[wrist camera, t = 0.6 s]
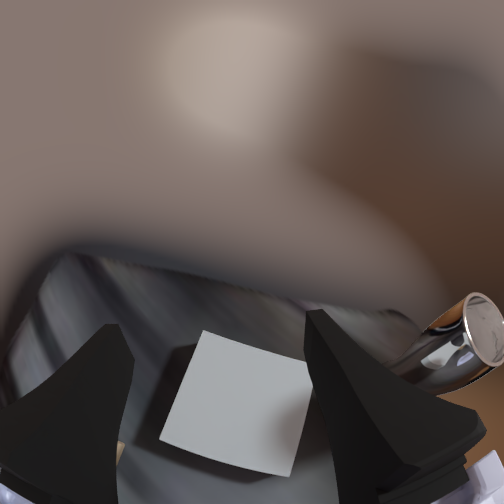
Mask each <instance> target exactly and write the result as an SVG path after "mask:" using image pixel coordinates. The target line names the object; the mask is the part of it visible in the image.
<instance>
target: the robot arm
mask: <svg viewBox="0 0 504 504" xmlns="http://www.w3.org/2000/svg"><path fill="white" fill-rule="evenodd" d="M304 354H305V359H306V364H307V368H308V373H309V376H310V379H311V382H312V384H313V387H314V390H315V393H316V396H317V399H318V402H319V405H320V408H321V411H322V413H323V416H324V419H325V423H326V426H327V431H328V435H329V440H330V445H331V450H332V456H333V461H334V467H335V473H336V480H337V487H338V496H339V504H504V468H503V466H502V464H501V461H500V460H499V457H498V455H497V453H496V451H495V450H493V451H491V452H490V453H489V454H488V455H486V456H485V457H484V458H482V459H481V460H479V461H478V462H476V463H475V464H473V465H472V466H471V467H469V468H468V469H466V470H465V468H464V466H463V465H464V464H465V463H466V462H467V460H466V458H465V456H464V454H465V453H466V452H467V451H469V450H470V449H471V448H472V447H473V446H475V444H477V443H478V442H479V441H480V440H481V439H482V438H483V437H484V436H485V434H486V431H487V430H486V428H485V426H484V424H483V422H482V421H481V419H480V417H479V415H478V414H477V412H476V411H475V410H472V409H469V408H466V407H463V406H460V405H457V404H454V403H451V402H448V401H446V400H443V399H441V398H439V397H436V396H434V395H432V394H430V393H428V392H426V391H424V390H422V389H420V388H418V387H416V386H415V385H413V384H411V383H409V382H407V381H406V380H404V379H402V378H401V377H399V376H398V375H396V374H395V373H393V372H392V371H390V370H389V369H387V368H386V367H385V366H383V365H382V364H381V363H379V362H378V361H377V360H376V359H375V358H373V357H372V356H371V355H370V354H368V353H367V352H366V351H365V350H364V349H363V348H362V347H360V346H359V345H358V344H357V343H356V342H355V341H354V340H353V339H352V338H351V337H350V336H349V335H348V334H347V333H346V332H345V331H344V330H343V329H342V328H341V327H340V326H339V325H338V324H337V323H336V322H335V321H334V320H333V319H332V318H331V317H330V316H329V315H328V314H327V313H326V312H325V311H324V310H323V309H318V310H311V311H306V323H305V337H304ZM134 361H135V359H134V357H133V355H132V353H131V351H130V349H129V347H128V345H127V342H126V340H125V338H124V336H123V334H122V331H121V329H120V327H119V325H118V324H105V325H104V326H103V327H101V328H100V329H99V330H98V331H97V332H96V333H95V334H94V335H93V336H92V337H91V338H90V339H89V340H88V341H87V342H86V343H85V344H84V345H83V346H82V347H81V348H80V349H79V350H78V351H77V352H76V353H75V354H74V355H73V356H72V357H71V358H70V359H69V360H68V361H67V362H65V363H64V364H63V365H62V366H61V367H60V368H59V369H58V370H57V371H56V372H55V373H54V374H53V375H51V376H50V377H49V378H48V379H47V380H45V381H44V382H43V383H42V384H40V385H39V386H38V387H37V388H35V389H34V390H32V391H31V392H29V393H28V394H26V395H25V396H23V397H22V398H20V399H19V400H17V401H16V402H14V403H12V404H10V405H9V406H7V407H5V408H3V409H1V410H0V467H1V468H2V469H1V472H0V504H118V496H117V482H116V459H117V444H118V434H119V429H120V424H121V420H122V416H123V412H124V408H125V405H126V401H127V397H128V393H129V390H130V386H131V382H132V376H133V369H134Z"/></svg>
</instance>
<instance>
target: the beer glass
mask: <svg viewBox="0 0 504 504" xmlns="http://www.w3.org/2000/svg"><path fill="white" fill-rule="evenodd" d="M503 362H504V320H503V317H502V315H501V313H500V312H499V310H498V308H497V307H496V306H495V304H494V303H493V302H492V301H491V300H490V299H489V298H488V297H486V296H485V295H483V294H481V293H476V292H475V293H471V294H469V295H468V296H467V297H466V298H465V299H463V300H462V301H461V302H459V303H458V304H457V305H455V306H454V307H452V308H451V309H450V310H448V311H447V312H445V313H444V314H443V315H442V316H440V317H439V318H438V319H436V320H435V321H434V322H433V323H432V324H431V325H430V326H428V327H427V329H425V330H424V331H423V332H422V333H421V334H420V335H419V336H418V338H417V339H416V340H415V341H414V342H413V343H412V344H411V345H410V346H409V348H408V349H407V350H406V351H405V352H404V353H403V354H402V355H401V356H399V357H398V358H396V359H394V360H390V361H387V362H384V363H382V365H383V366H385V367H386V368H387V369H389V370H390V371H392V372H393V373H395V374H396V375H398V376H399V377H401V378H402V379H404V380H406V381H407V382H409V383H411V384H413V385H415V386H416V387H418V388H420V389H422V390H424V391H426V392H428V393H430V394H432V395H434V396H437V395H442V394H446V393H450V392H453V391H456V390H458V389H461V388H463V387H465V386H467V385H469V384H471V383H473V382H475V381H477V380H478V379H480V378H481V377H483V376H484V375H486V374H487V373H489V372H490V371H492V370H493V369H495V368H496V367H498V366H500V365H501V364H502V363H503Z"/></svg>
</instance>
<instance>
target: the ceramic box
mask: <svg viewBox="0 0 504 504" xmlns="http://www.w3.org/2000/svg"><path fill="white" fill-rule="evenodd" d="M312 387H313V384H312V382H311V379H310V376H309V373H308V368H307V364H306V362H303V361H299V360H295V359H292V358H288V357H285V356H281V355H278V354H274V353H271V352H267V351H264V350H261V349H257V348H254V347H251V346H248V345H245V344H242V343H239V342H236V341H233V340H230V339H227V338H224V337H221V336H218V335H215V334H212V333H209V332H207V331H204V330H203V333H202V335H201V337H200V340H199V342H198V345H197V347H196V349H195V352H194V354H193V357H192V359H191V361H190V364H189V366H188V369H187V371H186V374H185V376H184V378H183V381H182V383H181V386H180V388H179V391H178V393H177V396H176V398H175V401H174V403H173V406H172V408H171V411H170V413H169V415H168V418H167V420H166V423H165V425H164V428H163V431H162V433H161V436H160V438H159V440H162V441H164V442H166V443H169V444H171V445H174V446H176V447H179V448H182V449H184V450H187V451H190V452H193V453H195V454H198V455H201V456H204V457H207V458H210V459H214V460H217V461H220V462H224V463H227V464H231V465H234V466H238V467H242V468H246V469H250V470H255V471H259V472H264V473H269V474H274V475H280V476H286V477H289V476H290V473H291V469H292V466H293V463H294V459H295V456H296V452H297V449H298V445H299V441H300V437H301V434H302V430H303V426H304V422H305V418H306V414H307V410H308V405H309V401H310V396H311V392H312Z"/></svg>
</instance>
